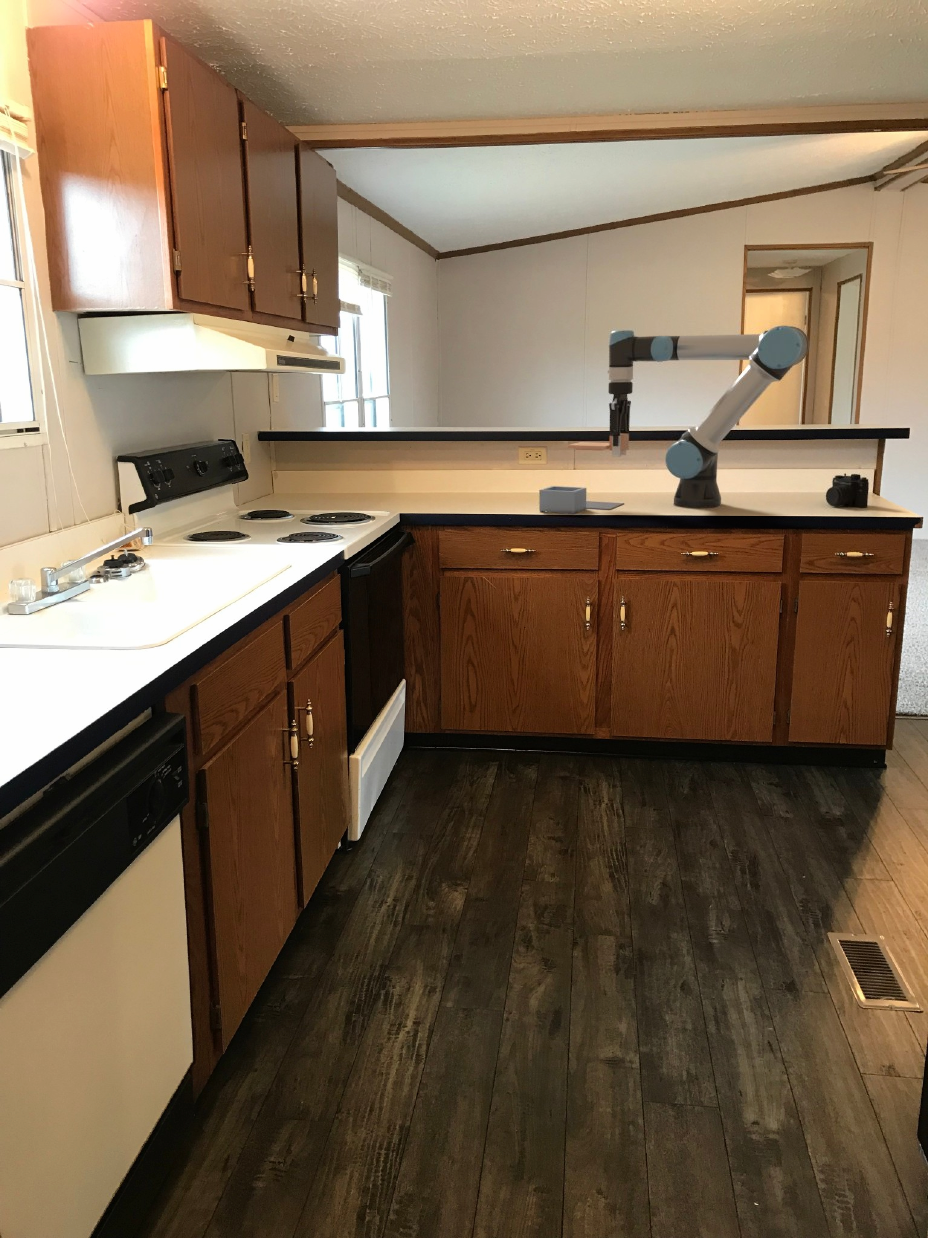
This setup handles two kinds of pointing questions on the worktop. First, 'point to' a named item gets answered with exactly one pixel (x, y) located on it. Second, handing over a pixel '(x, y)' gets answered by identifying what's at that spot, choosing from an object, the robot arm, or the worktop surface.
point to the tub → (562, 499)
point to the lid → (602, 444)
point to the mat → (602, 505)
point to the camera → (848, 491)
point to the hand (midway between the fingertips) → (619, 455)
